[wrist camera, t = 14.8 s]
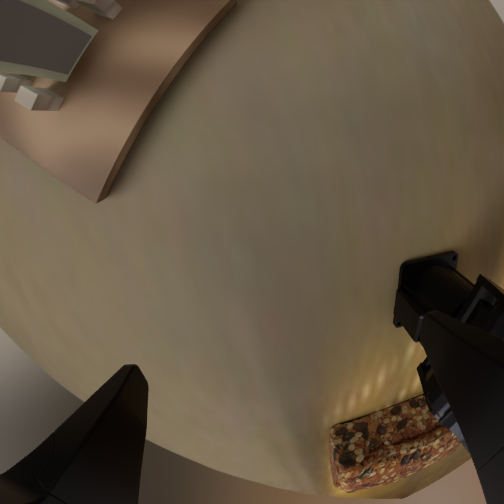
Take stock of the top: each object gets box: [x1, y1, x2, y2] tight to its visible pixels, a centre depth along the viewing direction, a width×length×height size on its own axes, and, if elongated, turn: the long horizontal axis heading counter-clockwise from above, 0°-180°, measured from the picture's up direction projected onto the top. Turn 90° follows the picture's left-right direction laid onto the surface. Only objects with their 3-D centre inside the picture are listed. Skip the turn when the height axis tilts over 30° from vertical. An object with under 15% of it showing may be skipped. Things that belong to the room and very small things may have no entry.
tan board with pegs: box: [0, 0, 236, 204], centre depth 10 cm, size 16×18×4 cm
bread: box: [329, 395, 461, 493], centre depth 26 cm, size 19×11×10 cm, turn 100°
